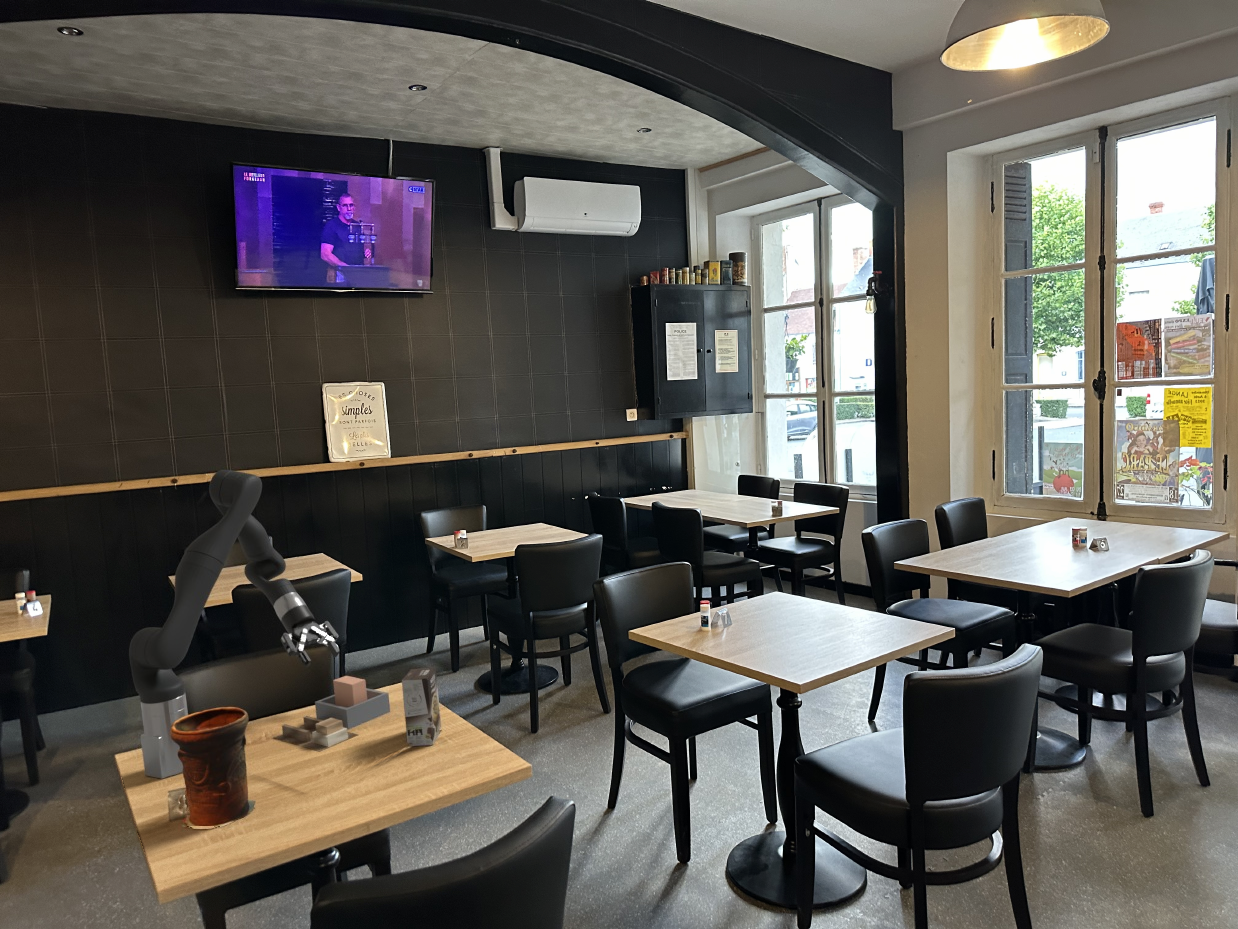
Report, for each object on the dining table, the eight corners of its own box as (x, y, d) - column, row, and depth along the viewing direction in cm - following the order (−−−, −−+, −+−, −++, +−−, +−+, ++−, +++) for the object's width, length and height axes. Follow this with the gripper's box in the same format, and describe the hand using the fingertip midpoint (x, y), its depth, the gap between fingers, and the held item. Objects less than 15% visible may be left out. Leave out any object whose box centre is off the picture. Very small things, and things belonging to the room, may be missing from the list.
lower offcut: (313, 742, 208) (312, 732, 208) (333, 734, 213) (332, 724, 212) (328, 747, 205) (327, 736, 204) (348, 738, 209) (347, 728, 209)
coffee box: (434, 745, 203) (427, 678, 202) (406, 747, 204) (400, 680, 202) (442, 730, 213) (436, 666, 211) (416, 732, 213) (410, 667, 211)
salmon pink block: (337, 718, 225) (333, 680, 224) (350, 712, 228) (346, 675, 227) (356, 723, 220) (352, 684, 219) (369, 717, 223) (365, 679, 223)
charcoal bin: (317, 724, 223) (314, 702, 222) (359, 707, 233) (357, 686, 233) (348, 733, 215) (346, 709, 215) (390, 715, 225) (388, 693, 225)
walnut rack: (273, 741, 213) (272, 727, 213) (312, 725, 222) (311, 712, 222) (320, 755, 202) (318, 741, 202) (359, 738, 211) (357, 724, 211)
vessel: (180, 807, 180) (172, 713, 179) (255, 792, 186) (247, 701, 184) (176, 838, 167) (167, 737, 165) (256, 820, 173) (248, 722, 171)
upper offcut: (316, 732, 208) (315, 724, 208) (332, 725, 211) (331, 717, 211) (327, 735, 205) (326, 727, 205) (343, 728, 209) (342, 720, 209)
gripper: (274, 610, 228) (304, 658, 222) (321, 598, 239) (351, 643, 233) (265, 628, 231) (294, 676, 225) (311, 615, 243) (341, 660, 237)
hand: (323, 659), depth 229 cm, fingers open, 8 cm apart
